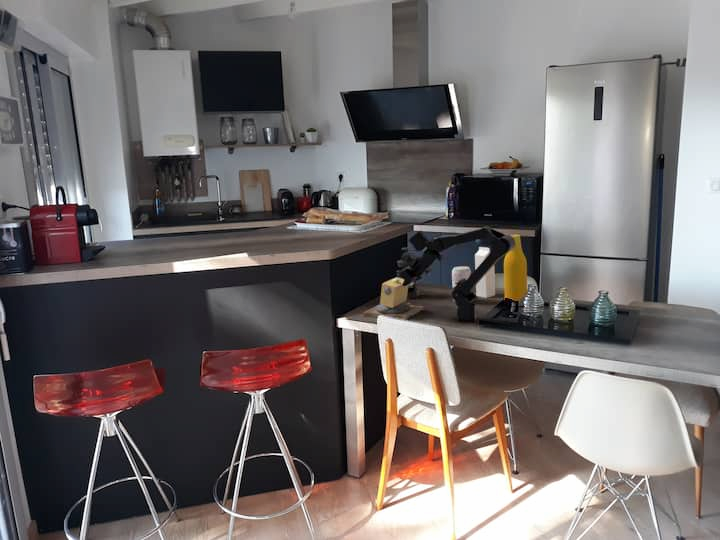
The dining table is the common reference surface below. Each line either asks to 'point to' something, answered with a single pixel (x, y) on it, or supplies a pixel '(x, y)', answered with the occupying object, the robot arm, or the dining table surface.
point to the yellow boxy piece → (393, 292)
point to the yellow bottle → (515, 272)
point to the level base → (401, 315)
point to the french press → (411, 291)
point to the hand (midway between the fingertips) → (403, 285)
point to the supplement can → (460, 274)
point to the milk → (488, 281)
